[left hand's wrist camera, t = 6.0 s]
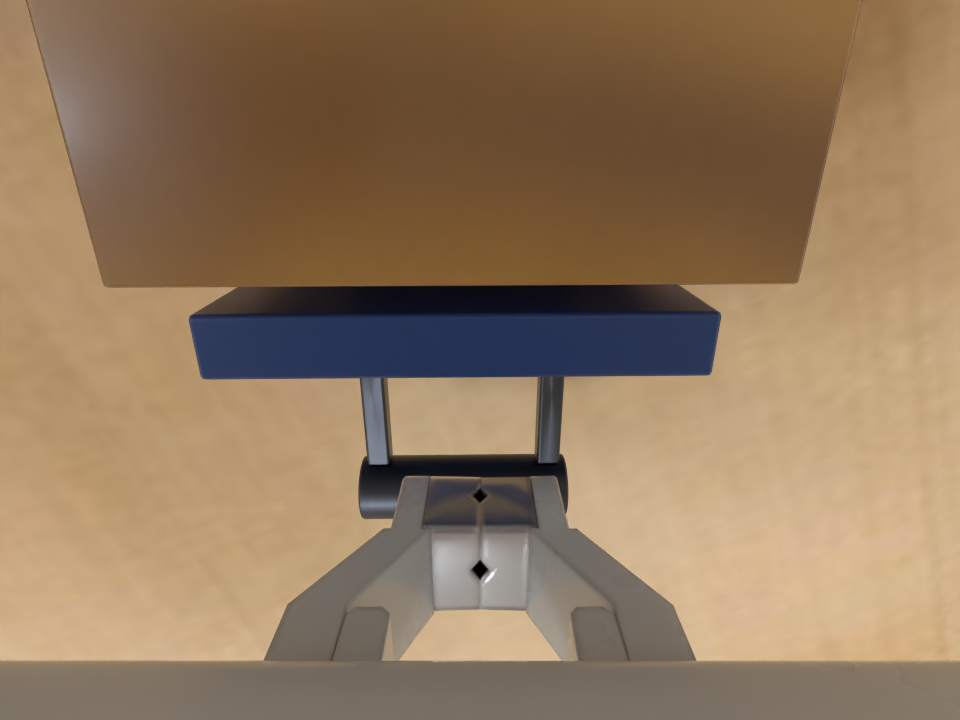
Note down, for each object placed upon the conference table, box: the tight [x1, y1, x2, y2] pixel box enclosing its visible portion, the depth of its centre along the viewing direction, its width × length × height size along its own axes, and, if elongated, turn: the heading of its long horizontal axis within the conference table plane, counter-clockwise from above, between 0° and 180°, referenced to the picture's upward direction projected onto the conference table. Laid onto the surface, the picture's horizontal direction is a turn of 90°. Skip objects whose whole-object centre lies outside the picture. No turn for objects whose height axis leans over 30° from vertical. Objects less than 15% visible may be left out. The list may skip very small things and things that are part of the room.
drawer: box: [189, 285, 721, 519], centre depth 12 cm, size 19×9×8 cm, turn 0°
